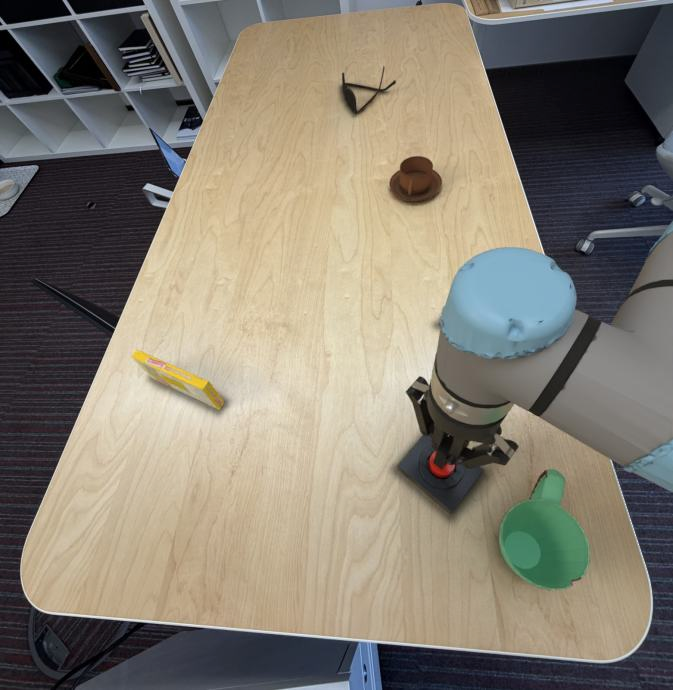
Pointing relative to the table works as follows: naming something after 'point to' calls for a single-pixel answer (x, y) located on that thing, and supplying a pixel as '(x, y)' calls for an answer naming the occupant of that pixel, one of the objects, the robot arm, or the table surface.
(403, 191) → the cup and saucer
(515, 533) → the mug
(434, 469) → the stop button
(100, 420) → the table surface
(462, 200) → the table surface
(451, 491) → the control block
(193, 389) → the candy box
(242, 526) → the table surface
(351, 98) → the sunglasses
